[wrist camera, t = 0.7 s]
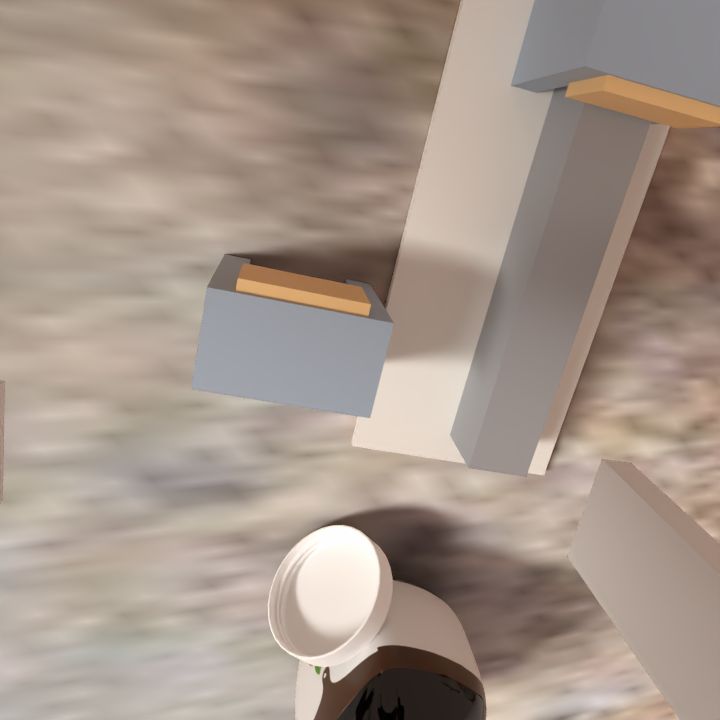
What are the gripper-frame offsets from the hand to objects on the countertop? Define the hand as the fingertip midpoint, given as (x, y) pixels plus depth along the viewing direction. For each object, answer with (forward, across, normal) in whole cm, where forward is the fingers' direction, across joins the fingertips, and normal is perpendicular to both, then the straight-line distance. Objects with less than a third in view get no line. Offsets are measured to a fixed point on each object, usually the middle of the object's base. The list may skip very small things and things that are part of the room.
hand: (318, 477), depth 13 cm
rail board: (+17, +10, +6) cm, 21 cm away
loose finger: (+17, 0, -1) cm, 17 cm away
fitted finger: (+16, +11, +13) cm, 24 cm away
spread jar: (+17, +6, -18) cm, 26 cm away
